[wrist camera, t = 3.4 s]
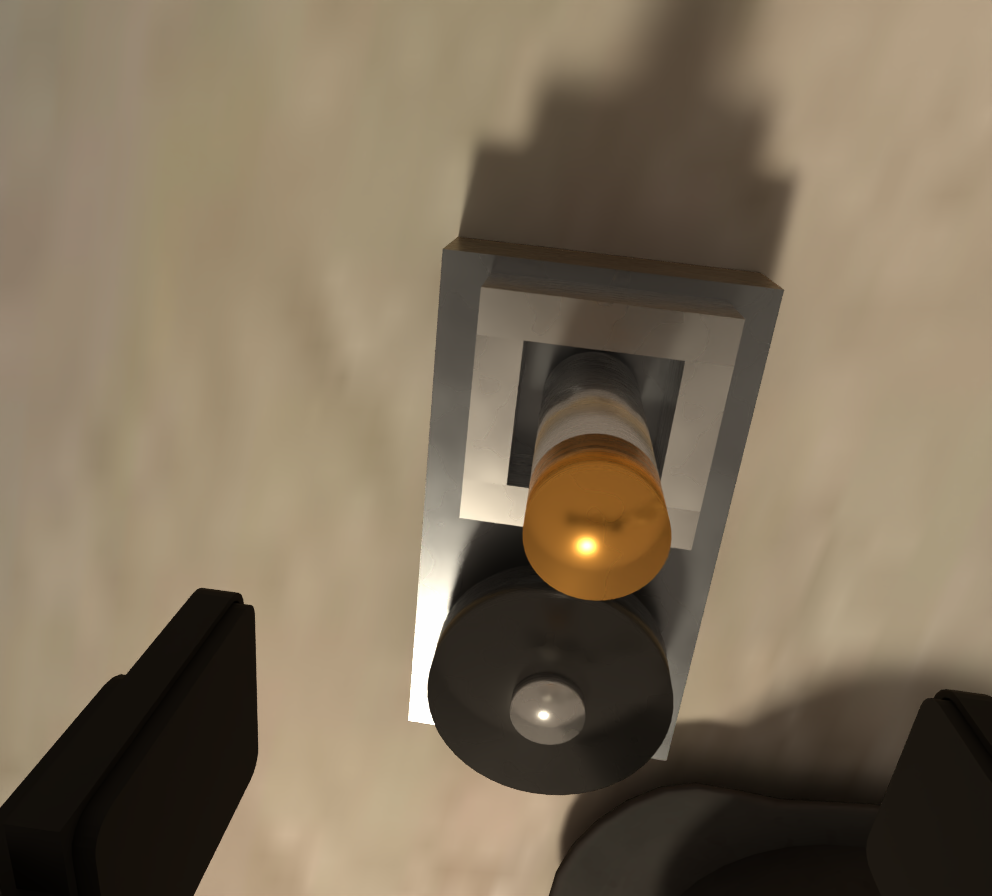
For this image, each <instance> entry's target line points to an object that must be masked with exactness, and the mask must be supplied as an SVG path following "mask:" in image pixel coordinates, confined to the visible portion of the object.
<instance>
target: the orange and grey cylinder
mask: <svg viewBox="0 0 992 896" xmlns="http://www.w3.org/2000/svg"><path fill="white" fill-rule="evenodd" d="M671 540H672V537H671V525H670V520H669V516H668V512H667V507H666V503H665V499H664V494H663V490H662V486H661V482H660V477H659V473H658V469H657V464H656V460H655V456H654V452H653V447H652V443H651V439H650V434H649V430H648V426H647V422H646V417H645V413H644V409H643V405H642V400H641V396H640V392H639V387H638V384H637V381H636V379H635V376H634V375H633V373H632V371H631V370H630V369H629V368H628V367H627V365H626V364H624V363H623V362H622V361H621V360H619V359H618V358H616V357H614V356H612V355H610V354H606V353H603V352H596V351H587V352H581V353H577V354H574V355H571V356H569V357H567V358H566V359H564V360H562V361H561V362H560V363H559V364H558V365H556V367H555V368H554V369H553V370H552V371H551V373H550V374H549V376H548V378H547V380H546V383H545V385H544V390H543V396H542V403H541V410H540V416H539V423H538V430H537V437H536V443H535V450H534V457H533V464H532V470H531V477H530V484H529V490H528V497H527V504H526V511H525V517H524V524H523V545H524V549H525V553H526V556H527V558H528V561H529V562H530V564H531V566H532V568H533V569H534V570H535V572H536V573H537V574H538V575H539V576H540V577H541V578H542V579H543V580H544V581H545V582H546V583H547V584H549V585H550V586H551V587H553V588H554V589H556V590H558V591H560V592H562V593H564V594H566V595H569V596H572V597H575V598H579V599H584V600H594V601H598V600H611V599H616V598H620V597H623V596H626V595H629V594H631V593H633V592H635V591H637V590H639V589H641V588H642V587H644V586H645V585H646V584H648V583H649V582H650V581H651V580H652V579H653V578H654V577H655V576H656V575H657V574H658V573H659V571H660V570H661V568H662V567H663V565H664V564H665V561H666V559H667V557H668V554H669V551H670V547H671Z"/></svg>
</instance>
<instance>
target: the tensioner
mask: <svg viewBox="0 0 992 896" xmlns="http://www.w3.org/2000/svg"><path fill="white" fill-rule="evenodd" d="M783 292H784V289H782V288H781V287H780V286H778V285H777V284H776V283H774V282H773V281H772V280H770V279H769V278H767V277H766V276H765V275H763V274H762V273H758V272H750V271H742V270H733V269H725V268H716V267H708V266H699V265H691V264H683V263H674V262H666V261H657V260H649V259H640V258H632V257H624V256H615V255H607V254H598V253H590V252H581V251H573V250H565V249H556V248H548V247H539V246H531V245H523V244H514V243H506V242H497V241H489V240H480V239H472V238H464V237H457V238H456V239H455V240H453V241H452V242H451V243H450V244H448V245H447V246H446V247H445V248H443V253H442V267H441V281H440V294H439V308H438V322H437V336H436V350H435V364H434V377H433V391H432V405H431V419H430V433H429V446H428V460H427V474H426V488H425V502H424V516H423V529H422V543H421V557H420V571H419V585H418V599H417V612H416V626H415V640H414V654H413V668H412V681H411V695H410V709H409V721H415V722H421V723H428V724H434V725H435V726H436V728H437V730H438V732H439V734H440V736H441V737H442V739H443V740H444V742H445V743H446V745H447V746H448V747H449V748H450V749H451V750H452V751H453V752H454V754H455V755H456V756H457V757H459V758H460V759H461V760H462V761H463V762H464V763H465V764H466V765H468V766H469V767H471V768H472V769H474V770H475V771H476V772H478V773H480V774H481V775H483V776H485V777H487V778H489V779H490V780H493V781H495V782H497V783H500V784H502V785H504V786H507V787H511V788H514V789H517V790H521V791H526V792H530V793H537V794H546V795H569V794H580V793H585V792H590V791H595V790H598V789H601V788H604V787H608V786H610V785H612V784H614V783H617V782H619V781H621V780H623V779H625V778H626V777H628V776H630V775H631V774H633V773H634V772H636V771H637V770H638V769H640V768H641V767H642V766H644V765H645V764H646V763H647V762H648V761H649V760H650V759H651V758H652V759H658V760H664V761H667V757H668V753H669V749H670V745H671V741H672V737H673V733H674V729H675V725H676V721H677V717H678V713H679V709H680V704H681V700H682V696H683V692H684V688H685V684H686V680H687V676H688V672H689V668H690V664H691V660H692V656H693V652H694V648H695V644H696V640H697V636H698V632H699V628H700V624H701V620H702V616H703V612H704V608H705V604H706V600H707V596H708V592H709V588H710V584H711V580H712V576H713V572H714V568H715V564H716V560H717V556H718V552H719V548H720V544H721V540H722V536H723V532H724V528H725V524H726V520H727V516H728V512H729V508H730V504H731V500H732V496H733V492H734V488H735V484H736V480H737V476H738V472H739V468H740V464H741V460H742V456H743V452H744V448H745V444H746V440H747V436H748V432H749V428H750V424H751V420H752V416H753V412H754V408H755V404H756V400H757V396H758V392H759V388H760V384H761V380H762V376H763V372H764V368H765V364H766V360H767V356H768V352H769V348H770V344H771V340H772V336H773V332H774V328H775V324H776V320H777V316H778V312H779V308H780V304H781V300H782V296H783ZM587 351H596V352H603V353H606V354H610V355H612V356H614V357H616V358H618V359H619V360H621V361H622V362H623V363H624V364H626V365H627V367H628V368H629V369H630V370H631V371H632V373H633V375H634V376H635V379H636V381H637V384H638V387H639V392H640V396H641V400H642V405H643V409H644V413H645V417H646V422H647V426H648V430H649V434H650V439H651V443H652V447H653V452H654V456H655V460H656V464H657V469H658V473H659V477H660V482H661V486H662V490H663V494H664V499H665V503H666V507H667V512H668V516H669V520H670V525H671V537H672V540H671V547H670V551H669V554H668V557H667V559H666V561H665V564H664V565H663V567H662V568H661V570H660V571H659V573H658V574H657V575H656V576H655V577H654V578H653V579H652V580H651V581H650V582H649V583H648V584H646V585H645V586H644V587H642V588H641V589H639V590H637V591H635V592H633V593H631V594H629V595H626V596H623V597H620V598H616V599H611V600H598V601H594V600H584V599H579V598H575V597H572V596H569V595H566V594H564V593H562V592H560V591H558V590H556V589H554V588H553V587H551V586H550V585H549V584H547V583H546V582H545V581H544V580H543V579H542V578H541V577H540V576H539V575H538V574H537V573H536V572H535V570H534V569H533V568H532V566H531V564H530V562H529V561H528V558H527V556H526V553H525V549H524V545H523V524H524V517H525V511H526V504H527V497H528V490H529V484H530V477H531V470H532V464H533V457H534V450H535V443H536V437H537V430H538V423H539V416H540V410H541V403H542V396H543V390H544V385H545V383H546V380H547V378H548V376H549V374H550V373H551V371H552V370H553V369H554V368H555V367H556V365H558V364H559V363H560V362H561V361H562V360H564V359H566V358H567V357H569V356H571V355H574V354H577V353H581V352H587Z"/></svg>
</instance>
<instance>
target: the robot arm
mask: <svg viewBox="0 0 992 896" xmlns="http://www.w3.org/2000/svg"><path fill="white" fill-rule="evenodd" d="M257 757H258V720H257V680H256V639H255V611H254V608H253V606H252V605H246V604H244V602H243V598H242V595H241V594H239V593H236V592H228V591H221V590H214V589H206V588H199V589H197V590H196V591H195V592H194V593H193V594H192V595H191V596H190V598H189V599H188V600H187V601H186V603H185V604H184V605H183V606H182V607H181V609H180V610H179V611H178V612H177V613H176V615H175V616H174V617H173V618H172V620H171V621H170V622H169V623H168V624H167V626H166V627H165V628H164V629H163V630H162V632H161V633H160V634H159V635H158V637H157V638H156V639H155V640H154V641H153V643H152V644H151V645H150V646H149V647H148V649H147V650H146V651H145V652H144V654H143V655H142V656H141V657H140V658H139V660H138V661H137V662H136V663H135V664H134V666H133V667H132V668H131V669H130V671H129V672H128V673H127V674H126V675H122V674H120V675H118V676H115V677H113V678H112V679H110V680H109V681H108V682H107V683H106V684H105V685H104V686H103V687H102V688H101V690H100V691H99V692H98V693H97V694H96V696H95V697H94V698H93V699H92V700H91V701H90V703H89V704H88V705H87V706H86V707H85V708H84V710H83V711H82V712H81V713H80V714H79V716H78V717H77V718H76V719H75V720H74V721H73V723H72V724H71V725H70V726H69V727H68V729H67V730H66V731H65V732H64V733H63V734H62V736H61V737H60V738H59V739H58V740H57V741H56V743H55V744H54V745H53V746H52V747H51V749H50V750H49V751H48V752H47V753H46V754H45V756H44V757H43V758H42V759H41V760H40V762H39V763H38V764H37V765H36V766H35V767H34V769H33V770H32V771H31V772H30V773H29V774H28V776H27V777H26V778H25V779H24V780H23V782H22V783H21V784H20V785H19V786H18V787H17V789H16V790H15V791H14V792H13V793H12V795H11V796H10V797H9V798H8V799H7V800H6V802H5V803H4V804H3V805H2V806H1V808H0V896H194V894H195V892H196V890H197V888H198V886H199V884H200V881H201V879H202V877H203V875H204V873H205V871H206V869H207V867H208V865H209V863H210V861H211V859H212V857H213V855H214V853H215V851H216V849H217V847H218V845H219V843H220V841H221V839H222V837H223V835H224V833H225V831H226V829H227V827H228V825H229V823H230V821H231V819H232V816H233V814H234V812H235V810H236V808H237V806H238V804H239V802H240V800H241V798H242V796H243V794H244V792H245V790H246V788H247V786H248V784H249V782H250V780H251V778H252V775H253V773H254V770H255V766H256V762H257ZM866 852H867V860H868V865H869V868H870V871H871V873H872V875H873V878H874V880H875V882H876V885H877V887H878V890H879V892H880V894H881V896H992V697H991V696H988V695H985V694H977V693H970V692H963V691H955V690H948V689H945V690H940V691H939V692H938V693H937V694H936V695H935V697H934V698H928V699H926V700H925V701H923V703H922V705H921V707H920V709H919V711H918V714H917V716H916V719H915V721H914V724H913V726H912V729H911V731H910V734H909V736H908V739H907V741H906V744H905V746H904V749H903V751H902V754H901V756H900V759H899V761H898V764H897V766H896V769H895V771H894V774H893V776H892V779H891V781H890V784H889V786H888V789H887V791H886V794H885V796H884V799H883V801H882V803H881V806H880V808H879V811H878V813H877V816H876V818H875V821H874V823H873V826H872V828H871V831H870V833H869V836H868V839H867V846H866Z"/></svg>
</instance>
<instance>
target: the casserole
mask: <svg viewBox="0 0 992 896" xmlns="http://www.w3.org/2000/svg"><path fill="white" fill-rule="evenodd" d="M879 808H880V805H875V804H859V803H841V802H823V801H804V800H785V799H777V798H772V797H768V796H763V795H758V794H754V793H749V792H744V791H739V790H734V789H728V788H722V787H716V786H710V785H704V784H698V783H691V784H682V785H674V786H666V787H659V788H656V789H654V790H651V791H649V792H647V793H644V794H642V795H639V796H637V797H634V798H632V799H630V800H627V801H626V802H624V803H623V804H621V805H620V806H618V807H617V808H615V809H614V810H612V811H611V812H609V813H608V814H606V815H605V816H603V817H602V818H600V819H599V820H597V821H596V822H595V823H594V824H593V825H592V826H591V827H590V828H589V829H588V830H587V831H586V832H585V833H584V834H583V835H582V836H581V837H580V838H579V839H578V840H577V841H576V842H575V843H574V844H573V845H572V846H571V848H570V850H569V851H568V853H567V855H566V856H565V858H564V860H563V861H562V863H561V864H560V866H559V868H558V869H557V871H556V874H555V877H554V880H553V884H552V887H551V890H550V894H549V896H881V894H880V892H879V890H878V887H877V885H876V882H875V880H874V878H873V875H872V873H871V871H870V868H869V865H868V860H867V852H866V846H867V839H868V836H869V833H870V831H871V828H872V826H873V823H874V821H875V818H876V816H877V813H878V811H879Z"/></svg>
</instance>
